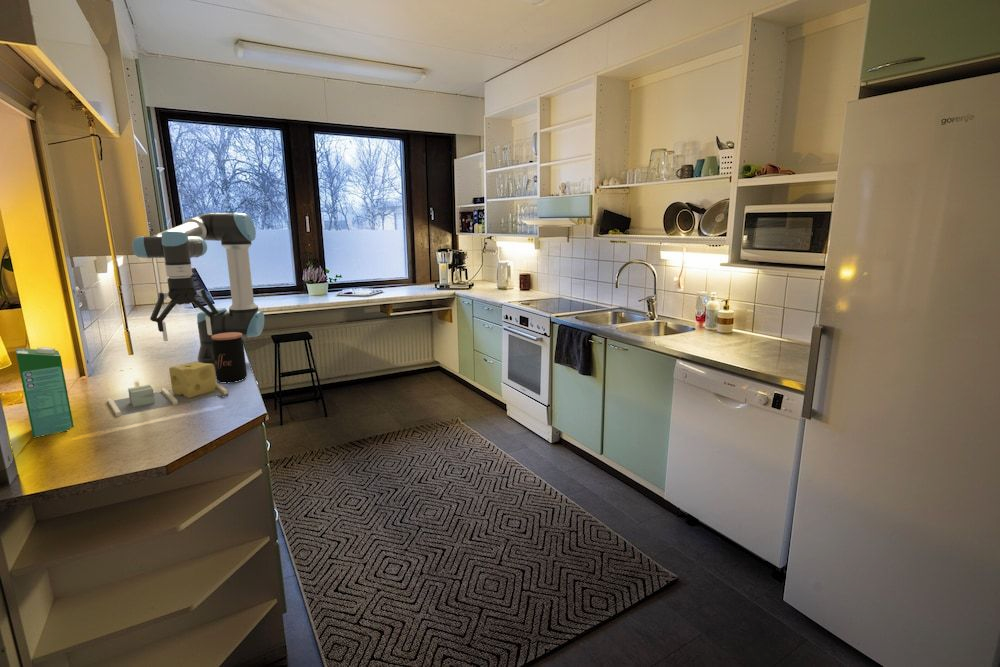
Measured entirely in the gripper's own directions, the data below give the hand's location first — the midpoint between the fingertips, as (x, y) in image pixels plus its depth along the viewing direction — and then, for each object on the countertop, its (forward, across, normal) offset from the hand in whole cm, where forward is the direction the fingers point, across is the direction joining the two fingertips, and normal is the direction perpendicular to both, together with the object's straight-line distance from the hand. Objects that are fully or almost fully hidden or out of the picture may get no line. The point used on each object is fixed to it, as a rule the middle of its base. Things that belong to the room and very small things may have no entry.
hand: (188, 337), depth 178 cm
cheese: (+20, -1, -1) cm, 20 cm away
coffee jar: (+21, +15, +10) cm, 28 cm away
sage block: (+20, -16, -1) cm, 25 cm away
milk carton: (+21, -40, -8) cm, 45 cm away
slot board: (+21, -8, -1) cm, 22 cm away
